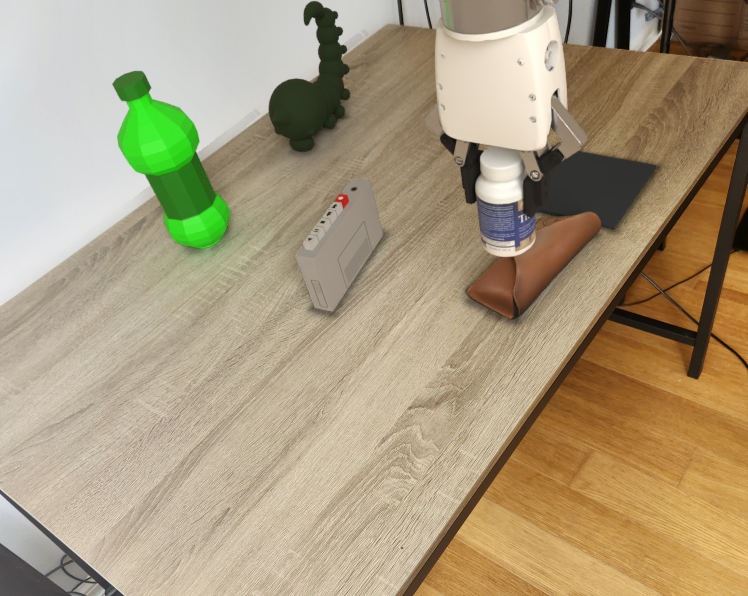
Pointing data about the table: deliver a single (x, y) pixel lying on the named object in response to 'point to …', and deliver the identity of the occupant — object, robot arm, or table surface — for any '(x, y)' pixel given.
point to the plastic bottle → (170, 163)
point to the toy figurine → (313, 87)
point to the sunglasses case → (534, 264)
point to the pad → (595, 186)
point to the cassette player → (340, 244)
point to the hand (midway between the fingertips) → (505, 200)
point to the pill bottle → (503, 203)
